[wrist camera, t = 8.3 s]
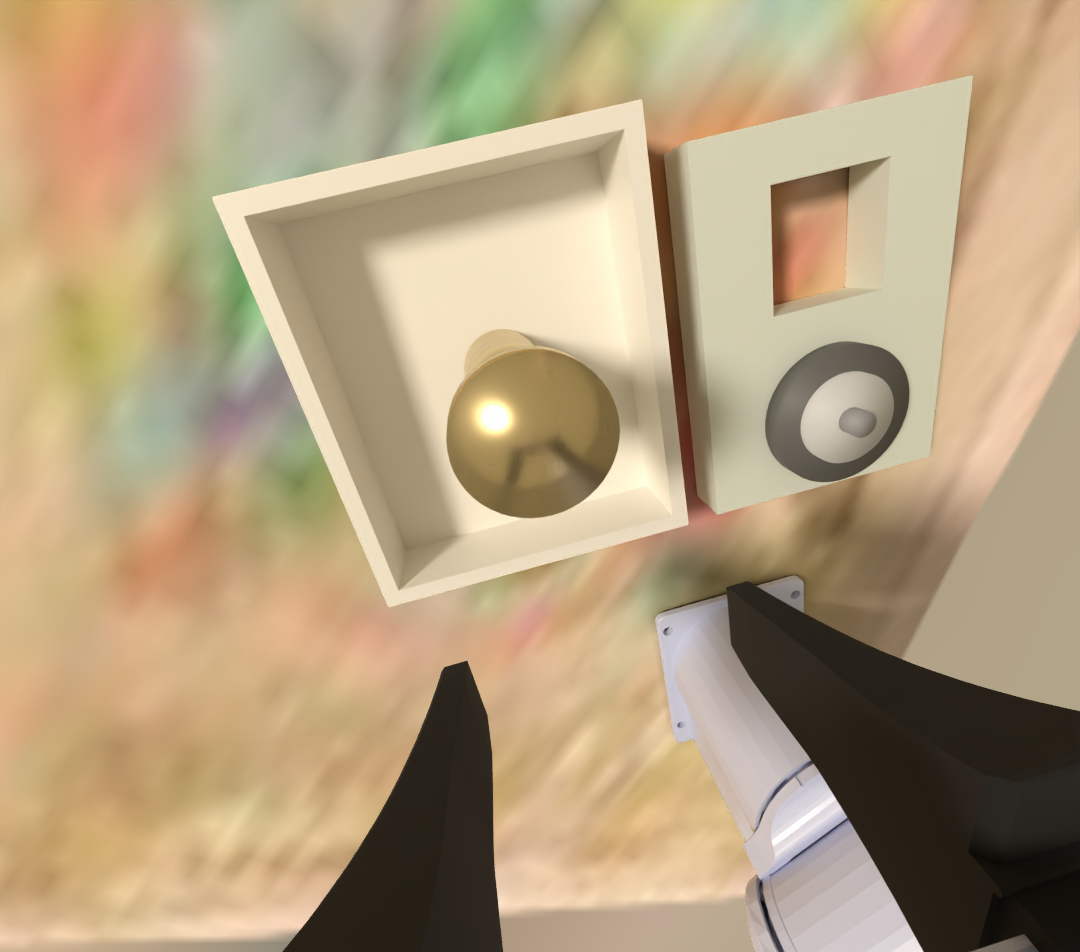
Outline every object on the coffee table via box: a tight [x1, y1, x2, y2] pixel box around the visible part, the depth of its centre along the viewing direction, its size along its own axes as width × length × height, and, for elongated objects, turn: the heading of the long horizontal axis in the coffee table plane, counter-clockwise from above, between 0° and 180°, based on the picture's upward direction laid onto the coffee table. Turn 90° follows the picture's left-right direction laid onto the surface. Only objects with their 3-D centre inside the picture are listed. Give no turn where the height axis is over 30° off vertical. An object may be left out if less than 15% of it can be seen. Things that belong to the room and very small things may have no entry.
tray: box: [212, 99, 689, 607], centre depth 18 cm, size 14×12×4 cm
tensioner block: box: [664, 75, 973, 515], centre depth 19 cm, size 14×10×4 cm
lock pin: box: [446, 329, 620, 518], centre depth 15 cm, size 4×4×9 cm
